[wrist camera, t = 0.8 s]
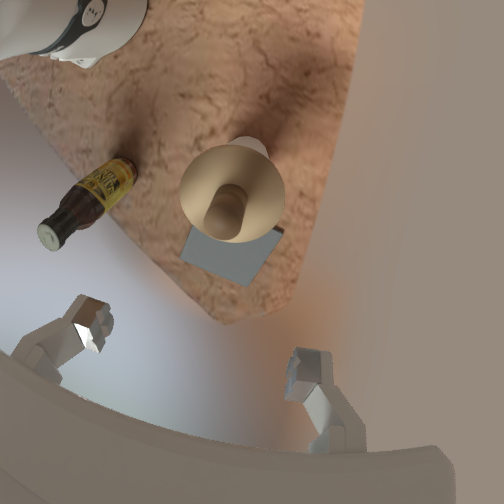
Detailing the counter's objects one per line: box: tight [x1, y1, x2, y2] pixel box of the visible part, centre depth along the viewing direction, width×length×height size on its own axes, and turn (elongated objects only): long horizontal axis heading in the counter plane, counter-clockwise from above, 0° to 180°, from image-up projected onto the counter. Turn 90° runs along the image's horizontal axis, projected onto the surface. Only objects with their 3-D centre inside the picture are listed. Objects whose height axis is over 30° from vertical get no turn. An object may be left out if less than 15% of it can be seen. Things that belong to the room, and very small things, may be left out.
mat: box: [179, 225, 283, 287], centre depth 50 cm, size 14×14×1 cm
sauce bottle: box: [37, 158, 137, 251], centre depth 35 cm, size 7×6×20 cm
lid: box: [180, 145, 285, 243], centre depth 27 cm, size 11×11×6 cm
